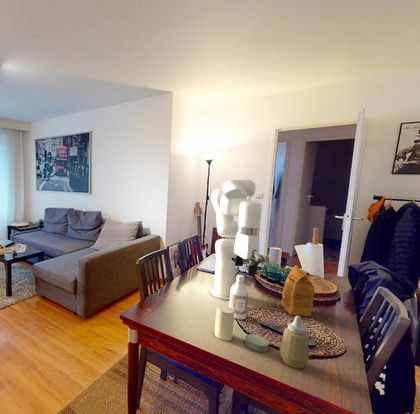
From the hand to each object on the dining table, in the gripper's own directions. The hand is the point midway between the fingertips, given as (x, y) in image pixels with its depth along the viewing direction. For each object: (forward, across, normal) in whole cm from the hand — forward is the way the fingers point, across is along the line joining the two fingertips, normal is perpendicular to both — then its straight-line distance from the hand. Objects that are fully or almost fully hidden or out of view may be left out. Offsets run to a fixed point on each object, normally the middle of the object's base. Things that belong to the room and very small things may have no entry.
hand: (245, 269), depth 117 cm
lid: (+24, +13, -1) cm, 28 cm away
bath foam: (+26, -9, +4) cm, 28 cm away
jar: (+26, +7, -11) cm, 29 cm away
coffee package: (+26, -15, +34) cm, 46 cm away
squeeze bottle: (+26, +22, +6) cm, 35 cm away
